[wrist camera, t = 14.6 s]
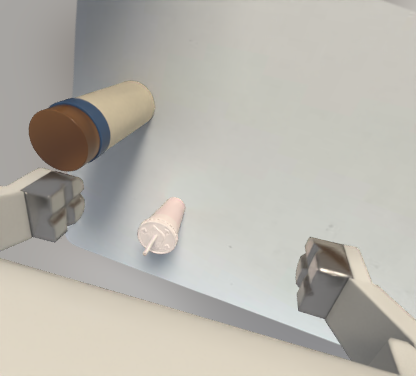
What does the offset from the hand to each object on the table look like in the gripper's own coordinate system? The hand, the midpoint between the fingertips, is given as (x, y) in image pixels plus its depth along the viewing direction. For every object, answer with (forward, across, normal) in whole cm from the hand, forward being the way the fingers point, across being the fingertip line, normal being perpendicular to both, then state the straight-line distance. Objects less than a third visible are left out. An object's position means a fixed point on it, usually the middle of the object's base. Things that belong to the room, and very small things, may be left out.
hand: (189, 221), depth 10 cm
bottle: (+35, +18, +7) cm, 40 cm away
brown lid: (+19, +18, +7) cm, 27 cm away
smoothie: (+35, +9, +24) cm, 43 cm away
